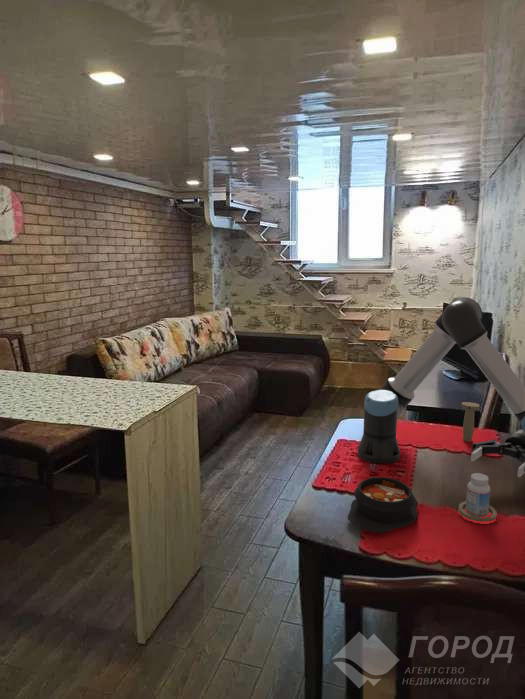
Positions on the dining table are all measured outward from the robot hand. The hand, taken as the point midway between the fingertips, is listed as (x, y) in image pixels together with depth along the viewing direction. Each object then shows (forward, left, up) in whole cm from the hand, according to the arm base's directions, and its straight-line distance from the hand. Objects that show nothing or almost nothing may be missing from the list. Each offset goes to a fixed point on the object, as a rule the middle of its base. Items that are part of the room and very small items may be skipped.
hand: (494, 464), depth 147 cm
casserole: (-35, -8, -12) cm, 38 cm away
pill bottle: (-8, -8, -11) cm, 16 cm away
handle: (+11, +45, -12) cm, 48 cm away
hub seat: (-8, -8, -12) cm, 16 cm away
